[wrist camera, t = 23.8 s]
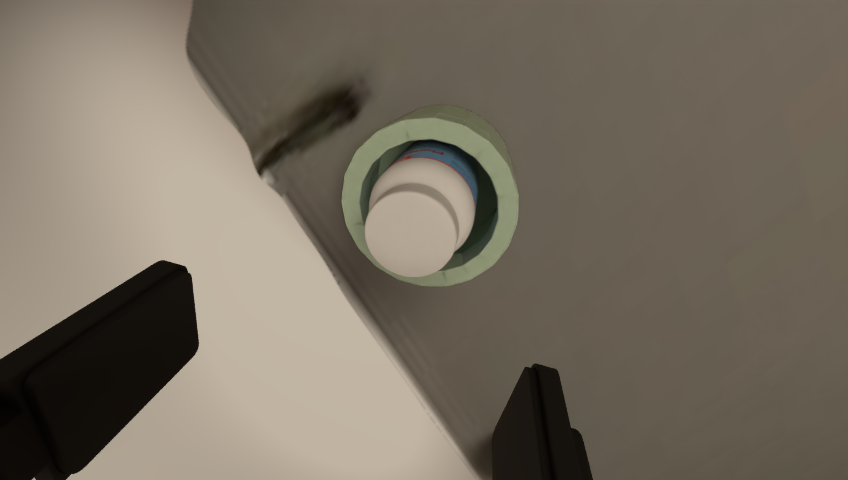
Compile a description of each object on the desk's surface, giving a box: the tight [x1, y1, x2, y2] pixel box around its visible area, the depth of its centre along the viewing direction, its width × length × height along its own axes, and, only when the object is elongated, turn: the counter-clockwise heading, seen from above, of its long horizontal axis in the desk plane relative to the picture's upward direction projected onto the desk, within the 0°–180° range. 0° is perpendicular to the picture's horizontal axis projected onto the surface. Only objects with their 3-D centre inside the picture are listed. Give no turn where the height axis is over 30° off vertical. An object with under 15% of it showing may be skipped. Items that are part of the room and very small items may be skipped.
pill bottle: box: [364, 139, 479, 277], centre depth 23 cm, size 6×6×11 cm
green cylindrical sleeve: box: [341, 105, 519, 286], centre depth 25 cm, size 10×10×8 cm
